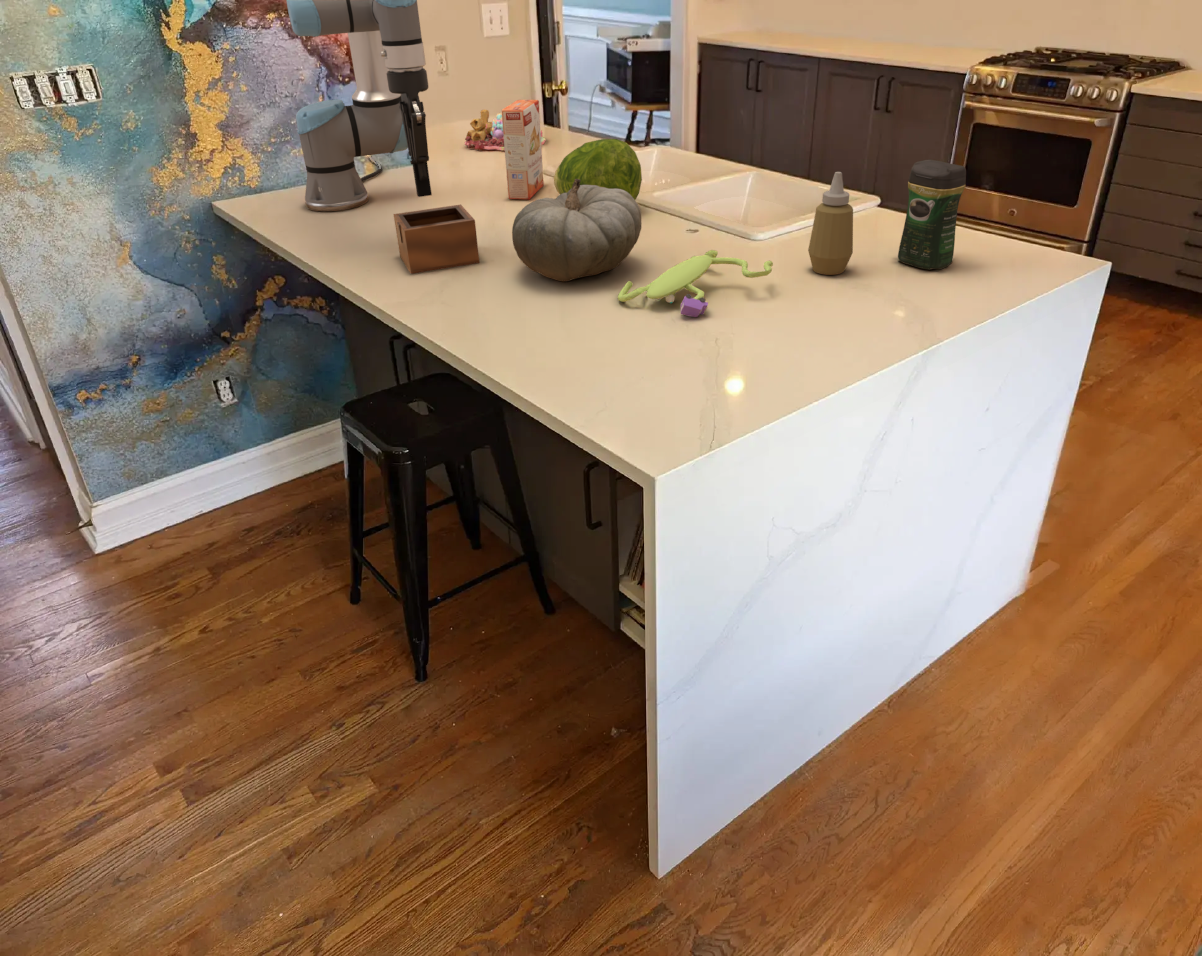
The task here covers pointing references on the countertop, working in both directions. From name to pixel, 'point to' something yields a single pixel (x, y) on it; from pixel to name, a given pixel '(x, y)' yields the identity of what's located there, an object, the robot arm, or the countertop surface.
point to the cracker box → (523, 148)
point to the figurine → (688, 281)
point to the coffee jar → (931, 214)
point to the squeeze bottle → (832, 231)
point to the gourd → (577, 232)
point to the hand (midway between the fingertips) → (424, 195)
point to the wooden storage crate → (436, 238)
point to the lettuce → (601, 167)
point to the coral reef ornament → (488, 133)
